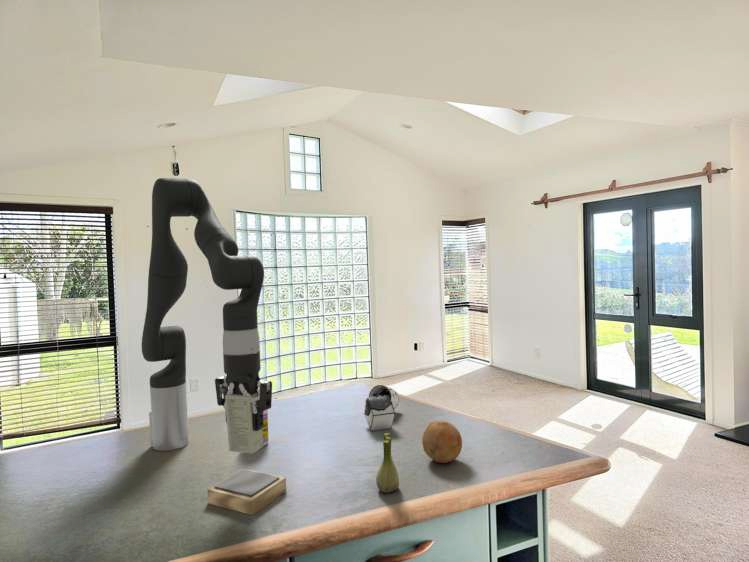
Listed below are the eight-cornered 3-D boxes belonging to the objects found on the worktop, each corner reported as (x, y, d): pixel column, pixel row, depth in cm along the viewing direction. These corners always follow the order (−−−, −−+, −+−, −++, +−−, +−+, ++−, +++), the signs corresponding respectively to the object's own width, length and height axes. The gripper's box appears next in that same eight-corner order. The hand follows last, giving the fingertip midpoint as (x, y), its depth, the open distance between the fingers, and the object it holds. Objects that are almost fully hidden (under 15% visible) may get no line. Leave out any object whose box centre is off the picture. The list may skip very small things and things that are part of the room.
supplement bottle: (262, 449, 132) (260, 402, 131) (239, 448, 133) (237, 401, 133) (272, 440, 138) (270, 395, 138) (250, 439, 140) (248, 394, 139)
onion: (467, 456, 123) (466, 417, 123) (456, 472, 114) (455, 429, 114) (430, 451, 127) (429, 413, 127) (417, 466, 118) (416, 425, 118)
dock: (207, 503, 103) (207, 487, 103) (244, 481, 113) (243, 466, 112) (252, 515, 97) (251, 498, 97) (286, 491, 107) (285, 475, 107)
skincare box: (264, 446, 106) (261, 391, 105) (252, 454, 101) (250, 396, 101) (239, 444, 108) (236, 389, 107) (226, 451, 104) (224, 394, 103)
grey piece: (370, 408, 166) (369, 379, 166) (399, 408, 165) (399, 379, 164) (360, 435, 141) (359, 400, 140) (395, 435, 140) (394, 400, 139)
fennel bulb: (390, 498, 103) (389, 441, 102) (370, 492, 105) (369, 437, 105) (403, 486, 108) (402, 433, 107) (384, 482, 110) (383, 429, 110)
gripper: (203, 351, 104) (206, 429, 104) (256, 355, 97) (259, 438, 98) (228, 345, 110) (231, 418, 111) (279, 348, 104) (282, 426, 104)
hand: (244, 427), depth 104 cm, fingers closed on skincare box, 6 cm apart
